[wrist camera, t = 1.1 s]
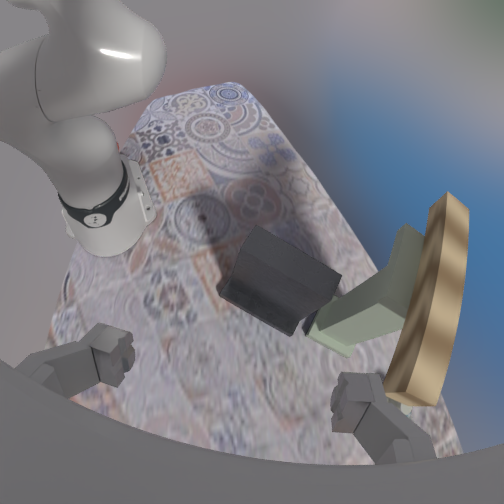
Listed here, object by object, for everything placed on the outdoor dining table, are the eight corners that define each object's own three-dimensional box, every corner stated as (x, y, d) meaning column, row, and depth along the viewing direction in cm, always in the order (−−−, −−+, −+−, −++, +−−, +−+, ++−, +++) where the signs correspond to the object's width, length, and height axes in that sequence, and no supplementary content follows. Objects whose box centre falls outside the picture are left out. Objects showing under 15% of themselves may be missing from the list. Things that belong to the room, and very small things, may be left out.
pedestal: (347, 361, 50) (450, 336, 26) (301, 337, 50) (386, 295, 27) (366, 315, 54) (462, 265, 31) (324, 290, 55) (406, 222, 31)
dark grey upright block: (289, 336, 50) (328, 316, 35) (219, 296, 51) (228, 258, 36) (308, 298, 53) (350, 265, 39) (242, 259, 54) (260, 212, 39)
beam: (408, 406, 22) (435, 406, 19) (379, 392, 23) (405, 392, 19) (450, 224, 33) (469, 209, 29) (429, 207, 33) (447, 191, 30)
